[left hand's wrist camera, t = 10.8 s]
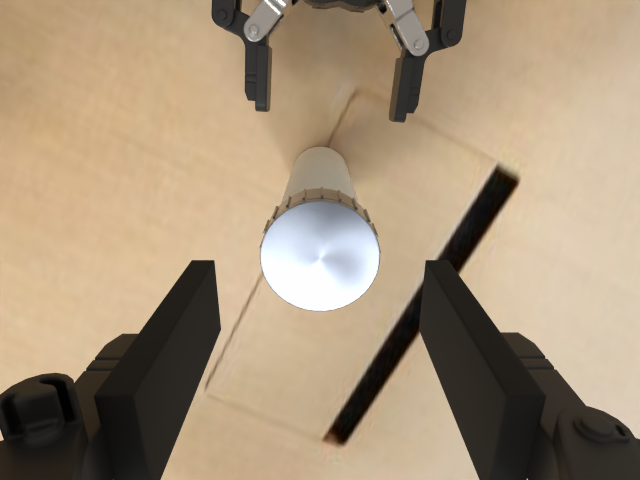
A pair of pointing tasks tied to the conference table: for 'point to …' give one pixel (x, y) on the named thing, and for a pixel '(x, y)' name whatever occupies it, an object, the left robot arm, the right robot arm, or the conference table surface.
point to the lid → (320, 250)
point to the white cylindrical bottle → (320, 173)
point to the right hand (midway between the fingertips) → (329, 116)
